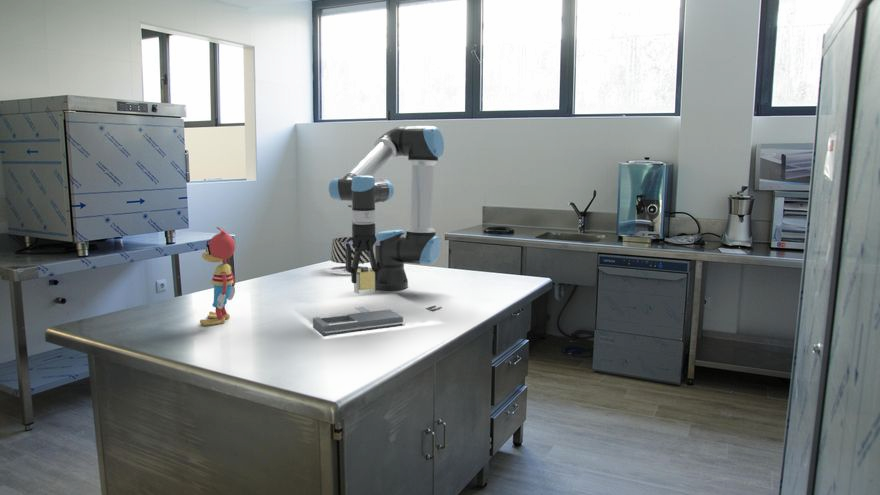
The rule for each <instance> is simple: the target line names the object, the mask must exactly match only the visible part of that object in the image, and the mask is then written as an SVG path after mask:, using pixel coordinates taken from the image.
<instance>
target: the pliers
mask: <svg viewBox="0 0 880 495" xmlns="http://www.w3.org/2000/svg"><path fill="white" fill-rule="evenodd" d="M440 308H441V309H442V308H443V307H442V306H438V307H436V305H431V306H429V307H425V308H424V309H426V310H427V311H429V312H431V311H432V312H436V310H437V311H439V310H441V309H440Z"/></svg>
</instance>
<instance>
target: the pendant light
mask: <svg viewBox="0 0 880 495" xmlns="http://www.w3.org/2000/svg"><path fill="white" fill-rule="evenodd" d="M347 207H348V208H351V209H352V204H348V205H347ZM351 222H352V224H353V223H354V222H353V221H351ZM352 237H353V234H352V233H351V236H345V237H344V236H343V237H342V236H341V237H334V238H332V239H331V240H332V243H331V253H330V254H331V256H330V262H332V263H337V264H345V265H346V252H345V247H344V243H345V242H349V241H351V239H352ZM374 249H375V246H373V251H374V252H375V250H374ZM351 251H352V263H353V259H354V254H355V246H354V245H353V244H352V248H351ZM368 263H369V264H370V260H369V256H368V253H367V251H366V250H365V251H362V254H361V256H360V260H359V264H362V265H364V264H368Z"/></svg>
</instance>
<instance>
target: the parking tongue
mask: <svg viewBox="0 0 880 495" xmlns="http://www.w3.org/2000/svg"><path fill="white" fill-rule="evenodd" d="M355 309H356V310H358V311H359V312H360V313H363V312H372V311H370V310H369V309H367V308H366V307H364V306H357V307H355Z"/></svg>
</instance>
